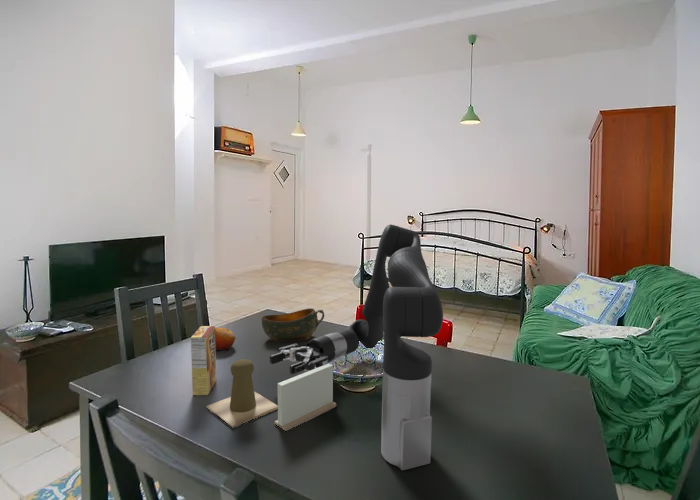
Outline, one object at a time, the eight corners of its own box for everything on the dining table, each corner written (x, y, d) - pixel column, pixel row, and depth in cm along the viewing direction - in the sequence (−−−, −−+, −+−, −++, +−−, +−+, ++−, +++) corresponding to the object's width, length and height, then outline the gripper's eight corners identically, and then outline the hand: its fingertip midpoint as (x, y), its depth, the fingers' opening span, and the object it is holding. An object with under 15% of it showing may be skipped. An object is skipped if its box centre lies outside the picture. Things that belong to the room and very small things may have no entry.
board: (278, 408, 95) (278, 406, 95) (232, 429, 86) (232, 426, 86) (250, 391, 103) (250, 389, 103) (206, 408, 95) (206, 405, 95)
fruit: (202, 342, 133) (214, 321, 134) (224, 351, 136) (236, 330, 137) (204, 351, 126) (217, 328, 127) (227, 360, 129) (240, 338, 130)
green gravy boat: (312, 347, 133) (312, 318, 132) (258, 341, 139) (258, 313, 138) (325, 335, 146) (325, 308, 145) (276, 330, 151) (275, 304, 150)
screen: (324, 400, 99) (325, 361, 98) (336, 406, 96) (336, 366, 95) (274, 424, 88) (273, 381, 87) (285, 432, 85) (285, 387, 84)
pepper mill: (259, 400, 97) (259, 357, 96) (250, 413, 92) (249, 367, 90) (235, 398, 98) (234, 355, 97) (225, 411, 92) (224, 365, 91)
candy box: (201, 380, 109) (199, 325, 107) (217, 379, 110) (215, 325, 108) (192, 396, 100) (189, 337, 98) (209, 395, 101) (207, 336, 99)
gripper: (310, 329, 118) (264, 343, 106) (345, 342, 108) (297, 359, 96) (310, 354, 119) (264, 370, 107) (345, 368, 109) (298, 388, 97)
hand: (280, 365), depth 102 cm, fingers open, 8 cm apart
